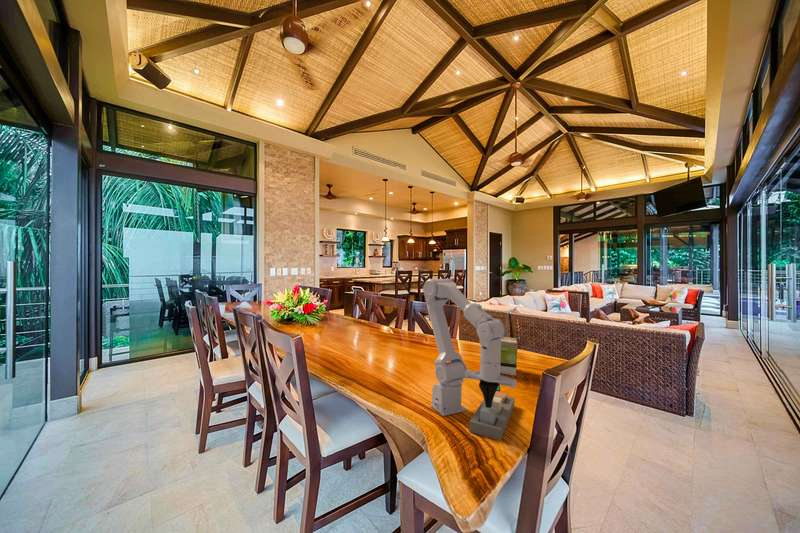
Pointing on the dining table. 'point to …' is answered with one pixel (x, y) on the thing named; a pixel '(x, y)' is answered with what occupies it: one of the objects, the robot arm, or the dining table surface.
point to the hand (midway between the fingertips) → (488, 406)
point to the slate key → (488, 415)
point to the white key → (497, 404)
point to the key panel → (501, 422)
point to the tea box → (508, 356)
